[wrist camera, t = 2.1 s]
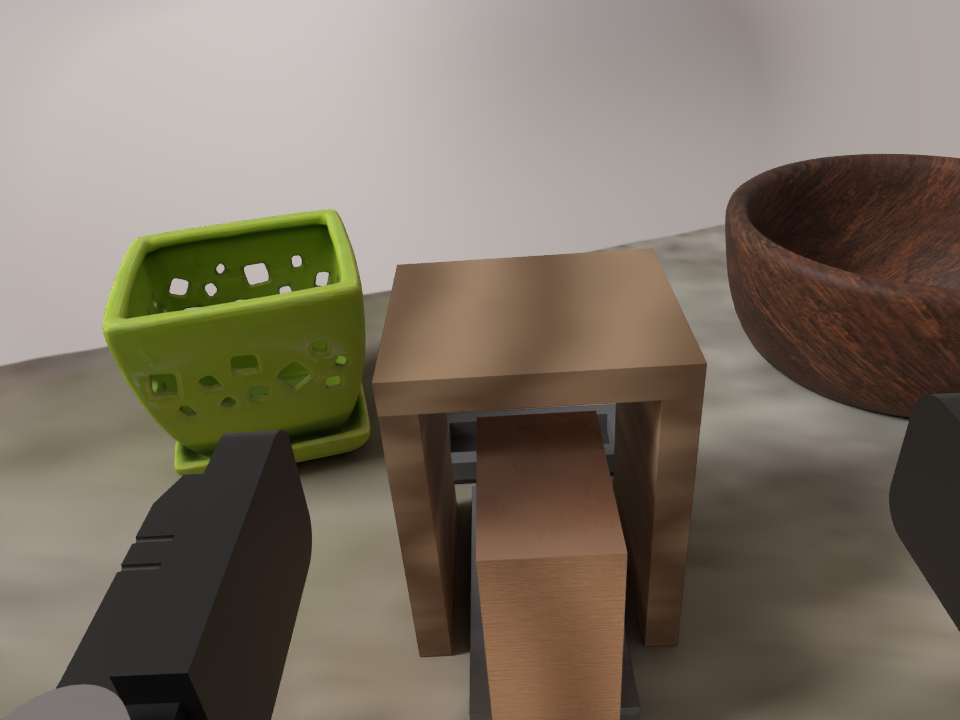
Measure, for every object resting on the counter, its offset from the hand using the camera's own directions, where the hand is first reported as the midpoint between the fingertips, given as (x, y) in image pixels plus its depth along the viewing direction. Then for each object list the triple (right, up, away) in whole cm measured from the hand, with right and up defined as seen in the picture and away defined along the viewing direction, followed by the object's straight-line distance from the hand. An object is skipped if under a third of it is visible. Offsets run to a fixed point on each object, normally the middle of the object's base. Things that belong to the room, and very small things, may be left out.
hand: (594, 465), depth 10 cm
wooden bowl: (+29, +2, +46) cm, 54 cm away
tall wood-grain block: (+2, -11, +28) cm, 30 cm away
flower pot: (-15, -3, +42) cm, 45 cm away
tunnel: (+2, -10, +30) cm, 31 cm away
